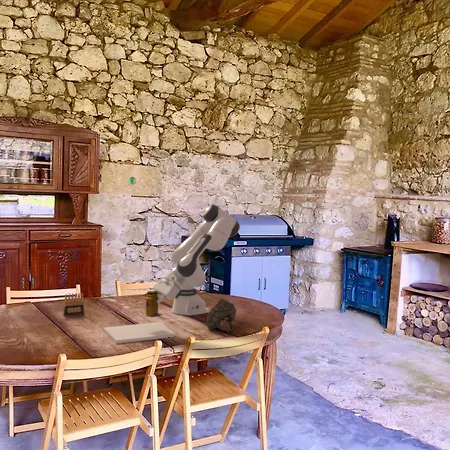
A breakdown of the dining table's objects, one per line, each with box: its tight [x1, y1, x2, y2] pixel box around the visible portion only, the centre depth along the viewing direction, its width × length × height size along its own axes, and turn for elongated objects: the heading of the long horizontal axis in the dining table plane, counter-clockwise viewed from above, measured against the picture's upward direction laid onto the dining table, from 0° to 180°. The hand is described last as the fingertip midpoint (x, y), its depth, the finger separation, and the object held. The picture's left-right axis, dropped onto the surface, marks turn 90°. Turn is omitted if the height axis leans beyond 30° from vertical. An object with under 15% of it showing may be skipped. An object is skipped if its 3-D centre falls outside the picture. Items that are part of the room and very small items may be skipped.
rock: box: [204, 298, 237, 333], centre depth 252 cm, size 18×14×15 cm
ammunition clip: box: [63, 292, 85, 316], centre depth 268 cm, size 11×2×12 cm, turn 120°
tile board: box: [102, 321, 178, 344], centre depth 238 cm, size 30×22×2 cm
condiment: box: [143, 290, 165, 318], centre depth 241 cm, size 7×8×12 cm
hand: (154, 301), depth 241 cm, fingers closed on condiment, 6 cm apart
